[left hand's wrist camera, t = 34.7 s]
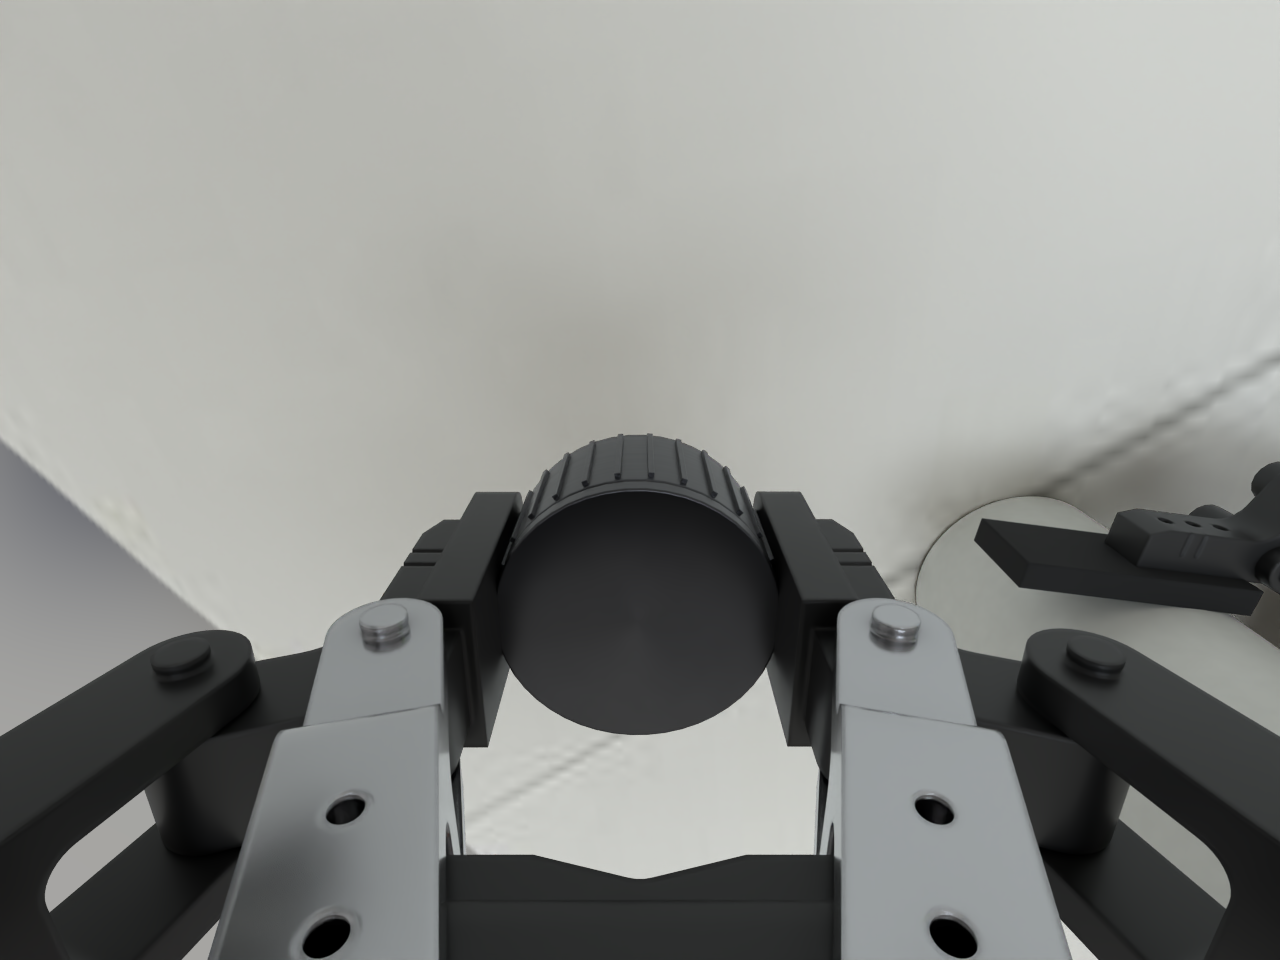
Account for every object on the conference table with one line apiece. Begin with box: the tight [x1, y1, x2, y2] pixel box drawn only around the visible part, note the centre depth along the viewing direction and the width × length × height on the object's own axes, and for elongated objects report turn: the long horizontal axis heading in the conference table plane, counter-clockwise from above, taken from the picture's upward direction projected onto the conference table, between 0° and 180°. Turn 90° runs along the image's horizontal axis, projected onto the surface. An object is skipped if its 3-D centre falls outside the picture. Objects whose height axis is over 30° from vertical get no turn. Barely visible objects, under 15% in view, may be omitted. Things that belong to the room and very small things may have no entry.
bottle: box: [916, 496, 1280, 909], centre depth 16 cm, size 7×7×23 cm
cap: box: [497, 433, 779, 735], centre depth 11 cm, size 4×4×2 cm
